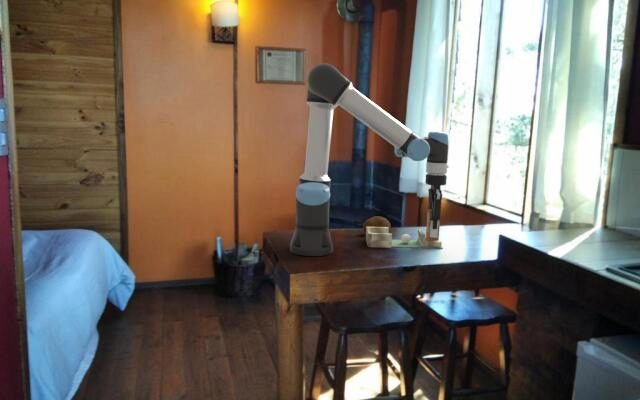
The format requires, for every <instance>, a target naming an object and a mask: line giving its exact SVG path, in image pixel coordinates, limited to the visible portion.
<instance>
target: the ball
mask: <svg viewBox="0 0 640 400" xmlns="http://www.w3.org/2000/svg"><path fill="white" fill-rule="evenodd" d="M400 240H401V241H402V242H403V243H405V244H406V243H409V242H410V240H412V239H411V235H409V234H408V233H404V234H402V235H401V237H400Z"/></svg>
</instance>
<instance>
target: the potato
mask: <svg viewBox="0 0 640 400" xmlns="http://www.w3.org/2000/svg"><path fill="white" fill-rule="evenodd" d="M366 227H389V230H390V229H391V223H390V221H389V219H387V218H386V217H383V216H378V215H376V216H372V217H370V218H367V219H366V220H365V221H364V222H363V224H362V230H363V232H364V234H366Z"/></svg>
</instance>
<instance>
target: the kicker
mask: <svg viewBox="0 0 640 400" xmlns="http://www.w3.org/2000/svg"><path fill="white" fill-rule="evenodd" d="M426 213H427V215H426V231H425V232H426V233H424V231H423V230H422V229H417V238H416V240H418V242H419V243H420V245H421V246H425V247H441V246H442V243H443V242H442V241H441V239H439V238H440V225H441V222H440V221H441V219H440V220H439V221H438V236H437V238H434V237H430V225H431V220H430V219H432V209H428V208H427V212H426Z"/></svg>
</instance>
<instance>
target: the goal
mask: <svg viewBox="0 0 640 400" xmlns="http://www.w3.org/2000/svg"><path fill="white" fill-rule="evenodd" d="M389 230H390V229H389V227H366V233H365V241H366V245H367V248H389V249H391V248H392V247H391V245H392V240H393V233H389Z"/></svg>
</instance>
